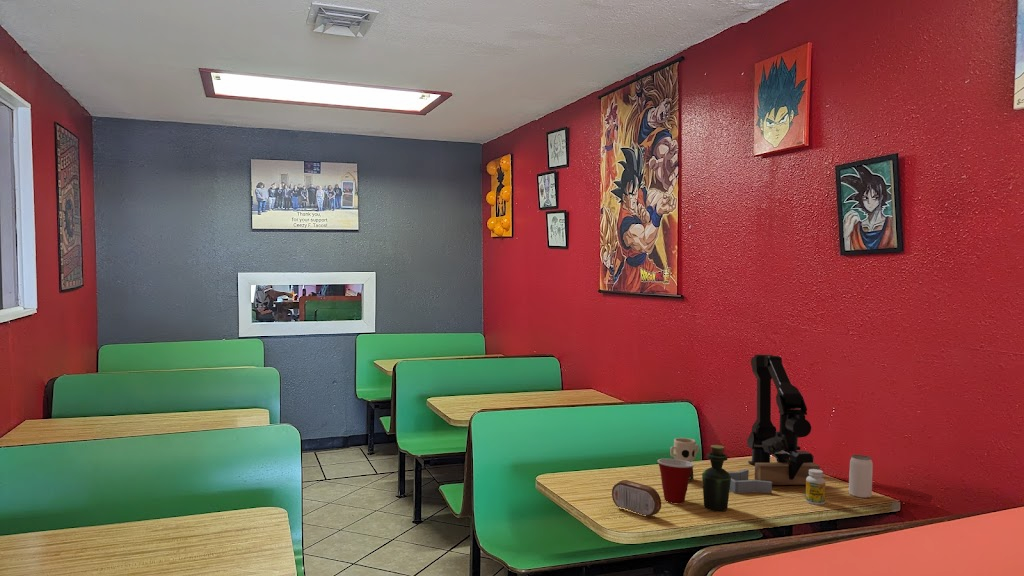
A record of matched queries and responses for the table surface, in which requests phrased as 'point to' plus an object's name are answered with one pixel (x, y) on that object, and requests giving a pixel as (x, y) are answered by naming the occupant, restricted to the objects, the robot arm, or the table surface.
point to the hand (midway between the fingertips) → (787, 477)
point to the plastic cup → (675, 478)
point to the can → (860, 476)
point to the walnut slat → (782, 473)
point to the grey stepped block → (748, 483)
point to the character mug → (685, 450)
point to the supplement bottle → (815, 487)
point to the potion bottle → (716, 481)
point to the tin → (636, 497)
